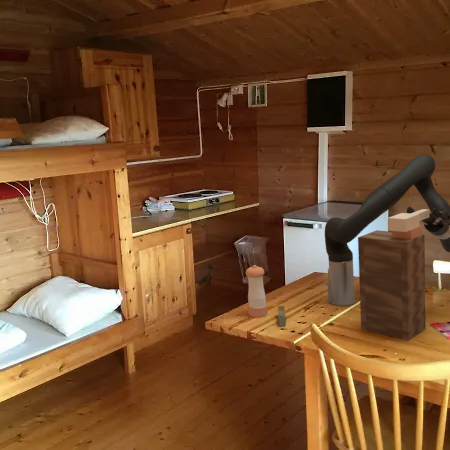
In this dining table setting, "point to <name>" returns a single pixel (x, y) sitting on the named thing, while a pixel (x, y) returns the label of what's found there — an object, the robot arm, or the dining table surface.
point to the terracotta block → (407, 234)
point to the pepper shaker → (256, 292)
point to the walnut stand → (392, 284)
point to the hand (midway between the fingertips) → (420, 210)
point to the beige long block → (407, 220)
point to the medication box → (281, 316)
